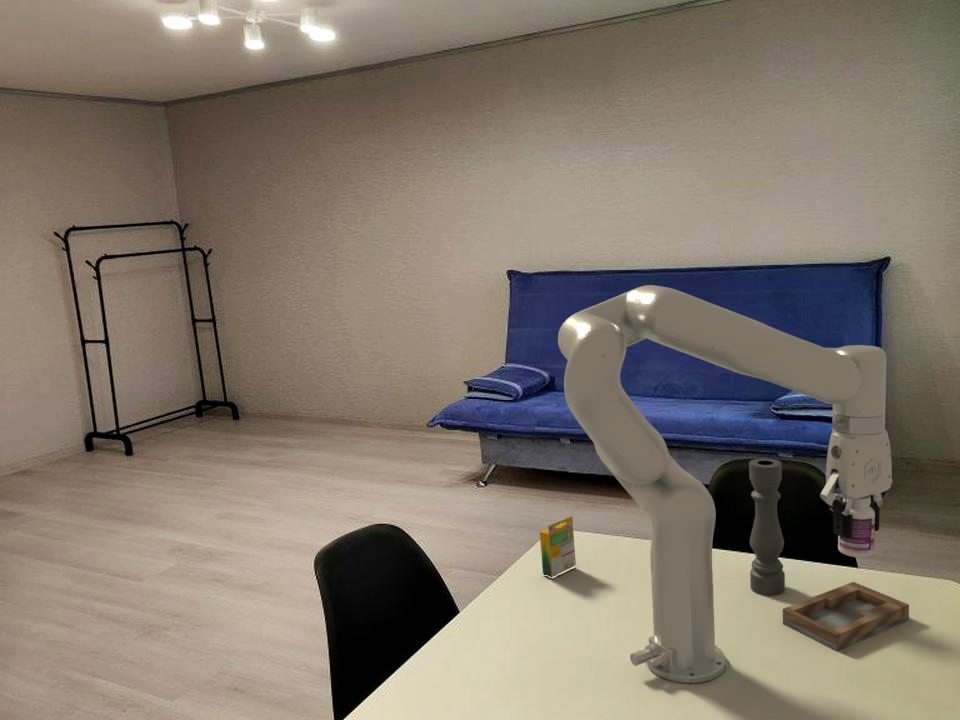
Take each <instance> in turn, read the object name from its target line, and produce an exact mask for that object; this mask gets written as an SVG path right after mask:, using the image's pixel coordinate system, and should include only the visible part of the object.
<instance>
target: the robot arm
mask: <svg viewBox="0 0 960 720" xmlns="http://www.w3.org/2000/svg"><path fill="white" fill-rule="evenodd" d="M557 335H558V336H557V345H558V347H559V351H560V352H561V354H562V355H563V356H564V358H565V359H566V360H567V363H566V367H565V371H564V378H563V390H564V391H563V392H564V396H565V402H566V404H567V406H568V409H569V410H570V412H571V414H572V415H573V417H574V419H575V420H576V421H577V422H578V424H579V425H580V427H581V428H582V429H583V430H584V432H585V434H587V436H588V438H590V441H592V442H593V445H594V449H595V452H596V454H597V455H598V458H599V459H600V460H601V461H602V463H603V464H604V465H605V466H606V467H607V469H608V470H609V472H610V473H611V474H612V475H613V477H615V479H616V480H617V481H618V482H619V484H620V485H621V486H622V487H623V488H624V490H626V492H627V493H628V494H629V495H630V497H631V498H632V499H633V500H634V501H635V503H636V504H637V505H638V506H639V507H640V508H641V509H642V510H643V511H644V513H645V514H646V515H647V516H648V518H649V519H650V520H651V523H652V537H651V543H650V575H651V578H650V579H651V596H652V599H651V600H652V617H653V618H652V619H653V622H652V623H653V636H651V637H648V645H646V646H645V648H644V649H641V650H638V651H635V652H633V653H630V654H629V655H630V656H629V657H630V658H629V659H630V662H631V664H632V665H633V666H635V667H638V666H640V665H642V664H645V663H646V665H647V667H648V669H650V671H651V672H653V673H654V674H655V675H657V676H658V677H661V678H664V679H666V680H669V681H673V682H676V683H683V684H684V683H685V684H694V683H704V682H708V681H710V680H713V679H716V678H717V677H718V676H720V675H721V674H722V673H723V672H724V670H725V669H726V665H727V664H726V663H727V661H726V656H725V653H724V652H723V650H722V649H721V648H720V647H718V646H717V645H716V642H715V641H716V639H715V638H716V637H715V610H714V609H715V608H714V607H715V604H714V602H715V601H714V576H713V575H714V573H713V539H714V533H715V525H716V516H717V514H716V507H715V502H714V499H713V497H712V495H711V493H710V492H709V490H708V489H707V488H706V486H705V485H704V483H702V482H701V481H700V480H698V479H697V478H695V477H694V476H693V475H692V474H691V473H690V472H688V471H686V470H685V469H684V468H682V467H681V466H680V465H679V463H677V462H676V460H675V459H674V458H673V456H671V455H670V452H669V450H668V447H667V444H666V441H665V440H664V438H663V436H662V435H661V434H660V432H659V431H658V430H657V429H656V428H655V427H654V426H653V425H651V423H650V422H649V421H648V419H646V417H645V416H644V415H643V414H642V413H641V411H640V409H638V408H637V406H636V405H635V404H634V402H633V401H632V399H631V397H629V395H628V394H627V392H626V391H625V390H624V388H623V386H622V382H621V371H622V366H623V364H624V360H625V357H626V352H627V348H628V347H630V346H633V345H634V344H637V343H640V342H641V341H644V340H645V339H648V341H652V342H654V343H657V344H659V345H662V346H664V347H667V348H670V349H673V350H675V351H677V352H680V353H684V354H686V355H689V356H691V357H694V358H697V359H700V360H702V361H705V362H706V363H707V362H708V363H710V364H713V365H715V366H717V367H721V368H723V369H726V370H729V371H731V372H735V373H737V374H741V375H743V376H744V375H745V376H748V377H752V378H754V379H755V378H756V379H760V380H761V381H766V382H768V383H771V384H775V385H776V386H780V387H783V388H786V389H787V390H790V391H793V392H796V393H799V394H801V395H804V396H806V397H810V398H812V399H815V400H817V401H820V402H822V403H825V404H830V405H832V422H831V428H832V431H831V434H830V438H829V441H828V442H829V443H828V447H827V448H828V449H827V456H826V465H825V466H826V469H825V485H824V487H823V489H822V490H821V492H820V495H819V496H820V497H819V498H820V499H821V500H823V501H824V502H825V504H826V505H827V506H828V507H829V508H830V509H829V510H830V511H832V512H833V513H832V515H833V516H832V517H833V519H832V520H833V521H832V532H833V534H834V535H836V536H837V537H838V536H841V537H843V538H846V539H851V538H852V515H850V514H849V513H850V509H851V505H852V501H853V499H858V498H863V497H866V496H870V497H871V503H870V505H869V506H870V507H871V508H872V509H873V510H874V512H875V532H878V531H880V516H881V515H880V513H881V512H880V510H881V508H880V507H882V506H883V504H884V503H883V502H884V501H883V499H884V497H885V496H886V494H887V491H888V490H889V489H890V488H892V484H893V479H892V478H893V477H892V475H893V474H892V473H893V471H892V469H893V467H892V466H893V465H892V464H893V463H892V451H891V442H890V438H889V434H888V430H886V400H887V399H886V396H887V395H886V394H887V364H888V363H887V361H888V359H887V355H886V354H887V353H886V351H885V350H884V349H882V348H881V347H878V346H875V345H867V344H866V345H865V344H855V345H853V344H851V345H844V346H841V347H823V346H821V345H818V344H815V343H813V342H811V341H808V340H805V339H802V338H800V337H797V336H794V335H792V334H789V333H787V332H784V331H782V330H780V329H777V328H774V327H772V326H769V325H767V324H766V323H764V322H760V321H758V320H756V319H754V318H750V317H748V316H745V315H743V314H740V313H737V312H735V311H732V310H729V309H727V308H725V307H722V306H720V305H717V304H714V303H711V302H708V301H706V300H704V299H702V298H698V297H696V296H693V295H691V294H688V293H686V292H683V291H681V290H677V289H674V288H671V287H667V286H661V285H653V284H649V285H641V286H638V287H635V288H634V289H631V290H629V291H627V292H623V293H622V294H619V295H617V296H614V297H612V298H609V299H607V300H605V301H603V302H600V303H596V304H595V305H592V306H590V307H586V308H585V309H582V310H580V311H578V312H575V313H574V314H572V315H571V316H569V317H568V318H566V319H565V321H564V322H563V323H562V325H560V328H559V330H558V334H557ZM841 498H842V499H843V498H845V500H844V502H843V503H842V501H841Z"/></svg>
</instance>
